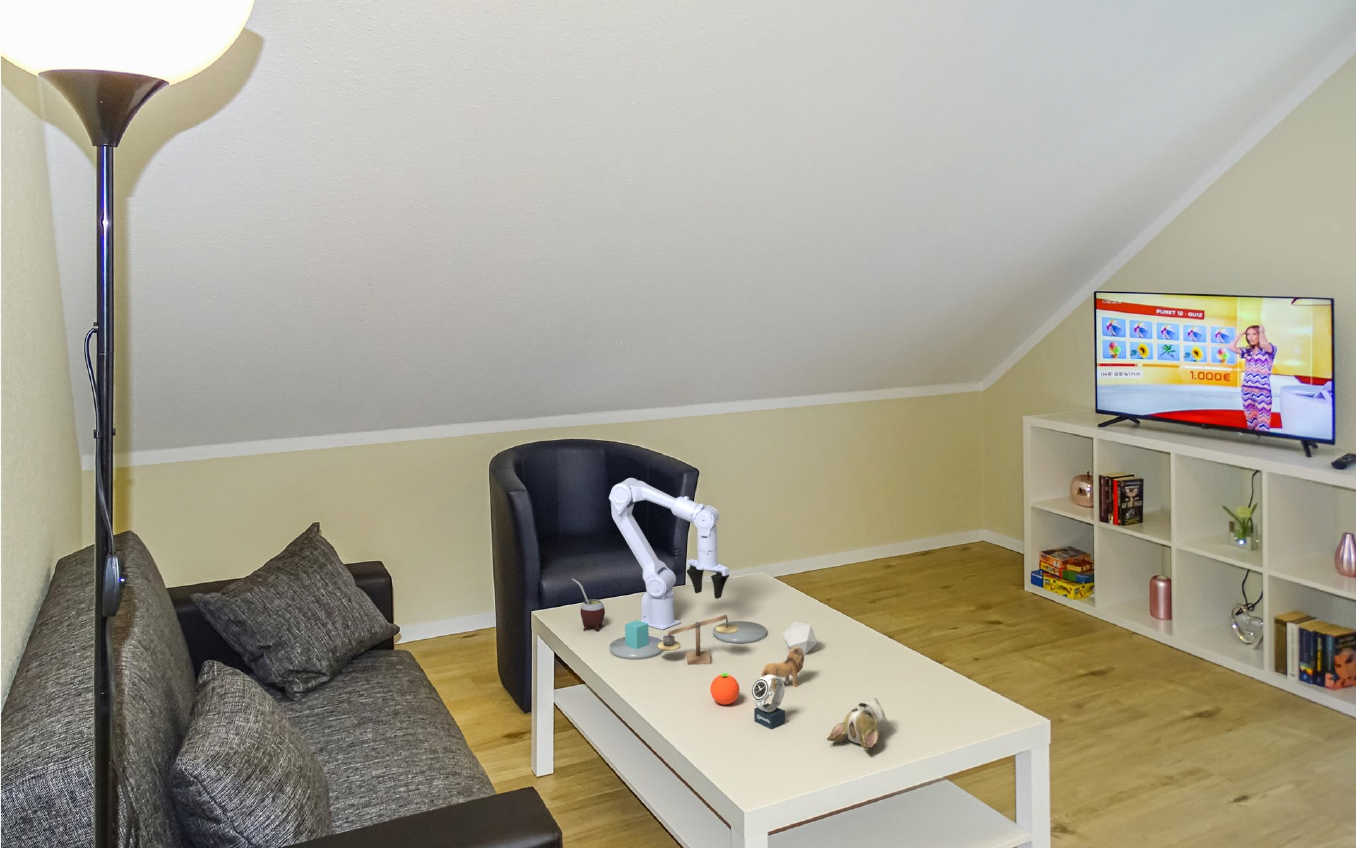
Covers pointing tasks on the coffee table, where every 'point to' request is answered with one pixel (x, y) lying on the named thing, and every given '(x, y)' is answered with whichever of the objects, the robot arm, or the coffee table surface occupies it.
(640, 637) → the block
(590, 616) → the mate gourd
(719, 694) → the clementine
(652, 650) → the dish low side
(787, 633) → the die
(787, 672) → the lion figurine
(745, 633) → the grey round disc
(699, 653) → the balance
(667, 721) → the coffee table surface
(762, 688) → the watch
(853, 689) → the coffee table surface
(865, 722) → the ceramic sculpture
